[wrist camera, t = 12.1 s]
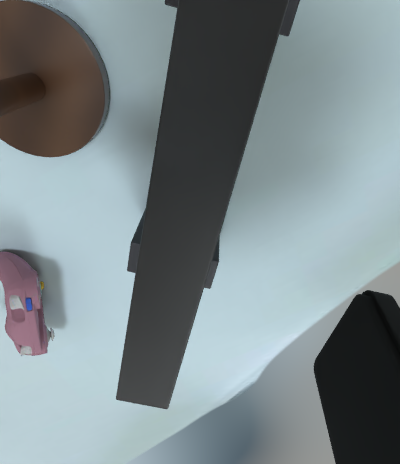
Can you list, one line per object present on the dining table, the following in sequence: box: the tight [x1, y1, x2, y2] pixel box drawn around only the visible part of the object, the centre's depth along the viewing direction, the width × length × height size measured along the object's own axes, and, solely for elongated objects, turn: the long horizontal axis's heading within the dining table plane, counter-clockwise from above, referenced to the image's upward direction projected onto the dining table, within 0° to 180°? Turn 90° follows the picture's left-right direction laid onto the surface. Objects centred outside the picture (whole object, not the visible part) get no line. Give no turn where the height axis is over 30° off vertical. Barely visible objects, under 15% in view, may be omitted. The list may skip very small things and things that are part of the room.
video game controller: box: [0, 252, 54, 356], centre depth 33 cm, size 10×5×7 cm, turn 173°
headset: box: [116, 0, 300, 409], centre depth 19 cm, size 6×18×17 cm, turn 167°
